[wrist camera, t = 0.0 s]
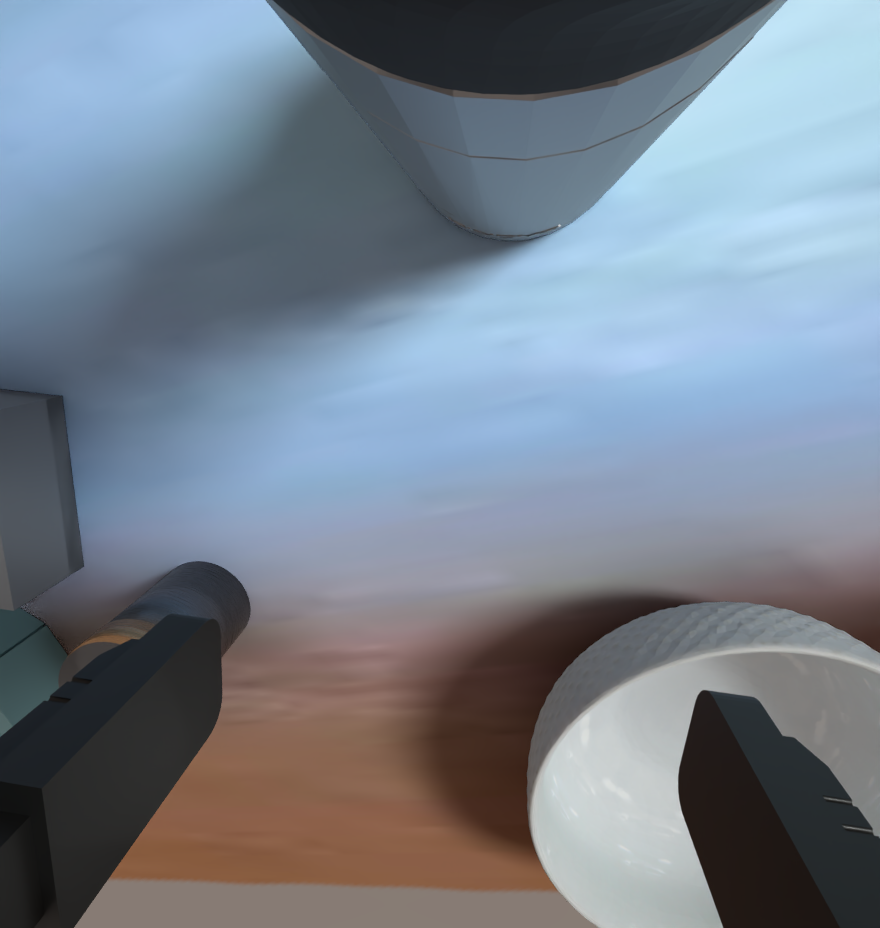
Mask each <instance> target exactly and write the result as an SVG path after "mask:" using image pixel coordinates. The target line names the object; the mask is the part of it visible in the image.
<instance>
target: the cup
mask: <svg viewBox="0 0 880 928" xmlns="http://www.w3.org/2000/svg"><path fill="white" fill-rule="evenodd" d="M43 625H44V623H43V622H41V621H40V620H38V619H37V618H35V617H34V616H32V615H30V614H29V613H27V612H26V611H24V610H22V609H21V608H18V609H16V610H15V611H11V610H5V609H0V737H1V736H2V735H3V734H4V733H6V732H7V731H8V730H9V729H10V728H12V727H13V726H14V725H15V724H16V723H18V722H19V721H20V720H21V719H22V718H24V717H25V716H26V715H27V714H28V713H30V712H31V711H32V710H33V709H34V708H36V707H37V706H38V705H39V704H40V703H42V702H43V701H48V700H49V698H50V695H51V694H53V693H54V692H55V691H56V690H57V689H59V684H58V678H59V672H60V668H61V666H62V664H63V662H64V661H65V659H66V658H67V657H68V655H67V653H66V652H65V651H64V649H63V648H62V646H61V645H60V644H59V642H58V641H57V639H56V638H55V637H54V635H53V634H52V632H51V631H50V630H49V628H48V627H47V625H46V626H43Z"/></svg>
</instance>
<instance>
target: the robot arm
mask: <svg viewBox="0 0 880 928" xmlns="http://www.w3.org/2000/svg"><path fill="white" fill-rule="evenodd" d="M266 1H267V3H268V4H269V5H270V6H271V8H272V9H273V10H274V11H275V13H276V14H277V15H278V16H279V17H280V19H281V20H282V21H283V22H284V24H285V25H286V26H287V27H288V28H289V30H290V31H291V32H292V33H293V35H294V36H295V37H296V38H297V40H298V41H299V42H300V43H301V44H302V46H303V47H304V48H305V49H306V51H307V52H308V53H309V54H310V56H311V57H312V58H313V59H314V60H315V62H316V63H317V64H318V65H319V67H320V68H321V69H322V70H323V71H324V72H325V73H326V74H327V75H328V77H329V78H330V79H331V80H332V82H333V83H334V84H335V85H336V87H337V88H338V89H339V90H340V92H341V93H342V94H343V95H344V96H345V98H346V99H347V100H348V101H349V103H350V104H351V105H352V106H353V108H354V109H355V110H356V111H357V113H358V114H359V115H360V116H361V117H362V119H363V120H364V121H365V122H366V124H367V125H368V126H369V127H370V129H371V130H372V131H373V132H374V134H375V135H376V136H377V137H378V138H379V140H380V141H381V142H382V143H383V145H384V146H385V147H386V148H387V150H388V151H389V152H390V153H391V155H392V156H393V157H394V158H395V160H396V161H397V162H398V163H399V164H400V166H401V167H402V168H403V169H404V171H405V172H406V173H407V174H408V176H409V177H410V178H411V179H412V181H413V182H414V183H415V185H416V186H417V187H418V188H419V189H420V191H421V192H422V193H423V194H424V195H425V196H426V198H427V199H428V200H429V201H430V202H431V203H432V204H433V206H434V207H435V208H436V209H437V210H438V211H439V213H441V214H442V215H443V216H445V217H446V218H447V219H449V220H450V221H451V222H453V223H454V224H455V225H457V226H458V227H460V228H462V229H464V230H467V231H469V232H471V233H473V234H476V235H478V236H480V237H485V238H491V239H496V240H501V241H512V240H528V239H532V238H536V237H540V236H543V235H547V234H551V233H553V232H555V231H556V230H558V229H560V228H562V227H564V226H566V225H568V224H570V223H572V222H574V221H575V220H576V219H577V218H579V217H580V216H581V215H582V214H584V213H585V212H586V211H587V210H589V209H590V208H591V207H593V206H594V205H595V204H596V202H597V201H598V200H599V199H600V198H601V197H602V196H603V195H604V194H605V193H606V192H607V191H608V190H609V189H610V188H611V187H612V186H613V185H614V184H615V183H616V182H617V181H618V180H619V179H620V178H621V177H622V176H623V175H624V174H625V172H626V171H627V170H628V169H629V168H630V167H631V166H632V165H633V164H634V163H635V162H636V161H637V160H638V159H639V158H640V157H641V156H642V155H643V153H644V152H645V151H646V150H647V149H648V148H649V147H650V146H651V145H652V144H653V143H654V142H655V141H656V140H657V139H658V138H659V137H660V136H661V134H662V133H663V132H664V131H665V130H666V129H667V128H668V127H669V126H670V125H671V124H672V123H673V122H674V121H675V120H676V119H677V118H678V117H679V115H680V114H681V113H682V112H683V111H684V110H685V109H686V108H687V107H688V106H689V105H690V104H691V103H692V102H693V101H694V100H695V99H696V98H697V96H698V95H699V94H700V93H701V92H702V91H703V90H704V89H705V88H706V87H707V86H708V85H709V84H710V83H711V82H712V81H713V80H714V79H715V77H716V76H717V75H718V74H719V73H720V72H721V71H722V70H723V69H724V68H725V67H726V66H727V65H728V64H729V63H730V62H731V61H732V60H733V58H734V57H735V56H736V55H737V54H738V53H739V52H740V51H741V50H742V49H743V48H744V47H745V46H746V45H747V44H748V43H749V42H750V41H751V39H752V38H753V37H754V36H755V34H756V33H757V32H758V31H759V30H760V29H761V28H762V27H763V26H764V25H765V23H766V22H767V21H768V20H769V19H770V18H771V17H772V16H773V15H774V14H775V13H776V12H777V11H778V10H779V9H780V8H781V7H782V5H783V4H784V3H785V2H786V1H787V0H266ZM221 703H222V667H221V632H220V626H219V623H218V622H217V620H215V619H210V618H203V617H196V616H189V615H182V614H175V613H172V614H169V615H167V616H166V617H164V618H163V619H162V620H161V621H160V622H158V623H157V624H156V625H155V626H154V627H153V628H152V629H151V630H149V631H148V632H147V633H146V634H145V635H144V636H143V637H141V638H140V639H139V640H138V639H131V640H128V641H126V642H124V643H122V644H120V645H118V646H116V647H114V648H112V649H110V650H108V651H106V652H104V653H102V654H100V655H98V656H97V657H96V658H95V659H93V660H92V661H91V662H90V663H89V664H87V665H86V666H85V667H84V668H83V669H81V670H80V671H79V672H78V673H77V674H75V675H74V676H73V678H72V681H71V682H68V681H67V682H66V683H65V684H63V685H62V686H61V687H60V688H59V689H57V690H56V691H55V692H54V693H53V694H51V695H50V698H49V700H48V701H43V702H42V703H40V704H39V705H38V706H37V707H36V708H34V709H33V710H32V711H31V712H30V713H28V714H27V715H26V716H25V717H24V718H22V719H21V720H20V721H19V722H18V723H16V724H15V725H14V726H13V727H12V728H10V729H9V730H8V731H7V732H6V733H4V734H3V735H2V736H1V737H0V928H74V927H75V925H76V924H77V922H78V921H79V920H80V918H81V917H82V915H83V914H84V913H85V911H86V910H87V908H88V907H89V905H90V904H91V903H92V901H93V900H94V898H95V897H96V896H97V894H98V893H99V891H100V890H101V889H102V887H103V886H104V884H105V883H106V881H107V880H108V879H109V877H110V876H111V874H112V873H113V872H114V870H115V869H116V867H117V866H118V864H119V863H120V862H121V860H122V859H123V857H124V856H125V855H126V853H127V852H128V850H129V849H130V847H131V846H132V845H133V843H134V842H135V840H136V839H137V838H138V836H139V835H140V833H141V832H142V831H143V829H144V828H145V826H146V825H147V823H148V822H149V821H150V819H151V818H152V816H153V815H154V814H155V812H156V811H157V809H158V808H159V806H160V805H161V804H162V802H163V801H164V799H165V798H166V797H167V795H168V794H169V792H170V791H171V790H172V788H173V787H174V785H175V784H176V782H177V781H178V780H179V778H180V777H181V775H182V774H183V773H184V771H185V770H186V768H187V767H188V765H189V764H190V763H191V761H192V760H193V758H194V757H195V756H196V754H197V753H198V751H199V750H200V748H201V747H202V746H203V744H204V743H205V741H206V740H207V739H208V737H209V736H210V734H211V732H212V730H213V728H214V726H215V724H216V721H217V719H218V716H219V712H220V708H221ZM678 794H679V801H680V806H681V811H682V814H683V817H684V820H685V823H686V825H687V828H688V831H689V834H690V836H691V839H692V842H693V845H694V848H695V850H696V853H697V856H698V859H699V862H700V864H701V867H702V870H703V873H704V876H705V878H706V881H707V884H708V887H709V889H710V892H711V895H712V898H713V901H714V903H715V906H716V909H717V912H718V915H719V917H720V920H721V923H722V926H723V928H880V838H879V836H874V834H873V828H872V827H871V825H870V824H869V822H868V821H867V820H866V818H865V817H864V816H863V814H862V813H861V811H860V810H859V809H858V807H856V806H853V804H852V799H851V797H850V796H849V795H848V793H847V792H846V791H845V789H844V788H843V786H842V785H841V784H840V782H839V781H838V779H837V778H836V777H835V775H834V774H833V773H832V771H831V770H830V768H829V767H828V766H827V765H826V764H825V763H823V762H822V761H821V760H820V759H819V758H818V757H816V756H815V755H814V754H813V753H812V752H811V751H809V750H808V749H807V748H806V747H805V746H804V745H802V744H801V743H800V742H799V741H798V740H797V739H795V738H794V737H788V736H783V735H782V734H781V732H780V731H779V729H778V728H777V726H776V725H775V723H774V722H773V720H772V719H771V717H770V716H769V714H768V713H767V711H766V710H765V708H764V707H763V705H762V704H761V703H760V701H759V700H758V699H756V698H755V697H751V696H744V695H737V694H730V693H723V692H716V691H709V690H702V691H701V692H700V693H699V694H698V696H697V698H696V702H695V705H694V709H693V713H692V717H691V722H690V726H689V730H688V734H687V738H686V742H685V746H684V750H683V754H682V758H681V762H680V767H679V773H678Z"/></svg>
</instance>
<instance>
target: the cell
mask: <svg viewBox="0 0 880 928" xmlns="http://www.w3.org/2000/svg"><path fill="white" fill-rule="evenodd" d="M172 613H175V614H182V615H189V616H196V617H203V618H210V619H215V620H217V622H218V623H219V626H220V632H221V658H222V656H223V655H224V654H225V653H226V651H227V650H228V649H229V648H230V646H231V645H232V644H233V643H234V641H235V640H236V639H237V638H238V636H239V635H240V634H241V632H242V631H243V630H244V629H245V627H246V625H247V624H248V621H249V617H250V602H249V598H248V595H247V593H246V591H245V589H244V587H243V586H242V584H241V583H240V582H239V581H238V579H237V578H236V577H235V576H233V575H232V574H231V573H230V572H228V571H227V570H225V569H224V568H222V567H220V566H218V565H215V564H212V563H208V562H200V561H196V562H189V563H185V564H182V565H180V566H178V567H177V568H176V569H174V570H173V571H172V572H170V573H169V574H168V575H167V576H166V577H164V578H163V579H162V580H161V581H159V582H158V583H157V584H156V585H155V586H153V587H152V588H151V589H150V590H148V591H147V592H146V593H145V594H144V595H142V596H141V597H140V598H139V599H137V600H136V601H135V602H134V603H132V604H131V605H130V606H129V607H128V608H126V609H125V610H124V611H123V612H121V613H120V614H119V615H118V616H117V617H115V618H114V619H113V620H112V621H110V622H109V623H108V624H106V625H104V626H103V627H101V628H100V629H99V630H98V631H96V632H95V633H94V634H93V635H91V636H90V637H89V638H88V639H86V640H85V641H84V642H83V643H82V644H80V645H79V646H78V647H77V648H75V649H74V650H73V651H72V652H71V653H70V654H69V655H68V657H67V658H66V659H65V661H64V662H63V664H62V666H61V668H60V672H59V678H58V684H59V688H60V687H61V686H62V685H63V684H65V683H66V682H67V681H68V682H71V681H72V678H73V676H74V675H75V674H77V673H78V672H79V671H80V670H81V669H83V668H84V667H85V666H86V665H87V664H89V663H90V662H91V661H92V660H93V659H95V658H96V657H97V656H98V655H100V654H102V653H104V652H106V651H108V650H110V649H112V648H114V647H116V646H118V645H120V644H122V643H124V642H126V641H128V640H131V639H138V640H139V639H140V638H141V637H143V636H144V635H145V634H146V633H147V632H148V631H149V630H151V629H152V628H153V627H154V626H155V625H156V624H157V623H158V622H160V621H161V620H162V619H163V618H164V617H166V616H167V615H169V614H172Z"/></svg>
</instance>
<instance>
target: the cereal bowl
mask: <svg viewBox="0 0 880 928" xmlns="http://www.w3.org/2000/svg"><path fill="white" fill-rule="evenodd" d="M702 690H709V691H716V692H723V693H730V694H737V695H744V696H751V697H755V698H756V699H758V700H759V701H760V703H761V704H762V705H763V707H764V708H765V710H766V711H767V713H768V714H769V716H770V717H771V719H772V720H773V722H774V723H775V725H776V726H777V728H778V729H779V731H780V732H781V734H782V735H783V736H788V737H794V738H795V739H797V740H798V741H799V742H800V743H801V744H802V745H804V746H805V747H806V748H807V749H808V750H809V751H811V752H812V753H813V754H814V755H815V756H816V757H818V758H819V759H820V760H821V761H822V762H823V763H825V764H826V765H827V766H828V767H829V768H830V770H831V771H832V773H833V774H834V775H835V777H836V778H837V779H838V781H839V782H840V784H841V785H842V786H843V788H844V789H845V791H846V792H847V793H848V795H849V796H850V797H851V799H852V804H853V806H856V807H858V809H859V810H860V811H861V813H862V814H863V816H864V817H865V818H866V820H867V821H868V822H869V824H870V825H871V827H872V828H873V834H874V836H879V838H880V653H879V652H877V651H875V650H873V649H871V648H870V647H869V646H868V645H866V644H865V643H863V642H862V641H859V640H857V639H855V638H853V637H852V636H850V635H849V634H848V633H846V632H845V631H842V630H839V629H836V628H835V627H833V626H831V625H829V624H828V623H826V622H823V621H818V620H816V619H814V618H813V617H811V616H808V615H802V614H799V613H796V612H794V611H792V610H787V609H782V608H776V607H773V606H770V605H757V604H752V603H746V602H739V603H737V602H727V601H726V602H711V603H709V602H703V603H699V604H697V603H695V604H689V605H680V606H678V607H676V608H667V609H665V610H658V611H657V612H655V613H650V614H649V615H647V616H642V617H639V618H638V619H634V620H632V621H631V622H629V623H628V624H624V625H622V626H621V627H619V628H616V629H615V630H614V631H612V632H611V633H609V634H606V635H604V636H603V637H602V638H601V639H599V640H598V641H597V642H595V643H594V644H593V645H591V646H589V647H588V649H587V650H586V651H584V652H583V653H581V654H580V655H579V656H578V657H577V658H576V659H575V660H574V662H573V663H572V664H570V665H569V666H568V667H567V668H566V670H565V671H564V672H563V674H562V676H561V677H560V678H558V681H557V682H556V683H555V684H554V687H553V689H552V691H551V692H550V693H549V695H548V696H547V698H546V701H545V704H544V705H543V707H542V709H541V710H540V713H539V717H538V720H537V722H536V724H535V730H534V734H533V737H532V739H531V748H530V752H529V757H528V770H527V781H528V784H527V798H528V802H527V811H528V819H529V829H530V833H531V838H532V842H533V845H534V848H535V851H536V854H537V856H538V858H539V860H540V862H541V865H542V867H543V869H544V871H545V873H546V874H547V876H548V877H549V879H550V880H551V882H552V883H553V885H554V886H555V887H556V889H557V890H558V891H559V892H560V894H561V895H562V896H563V897H564V898H565V899H566V900H567V901H568V902H569V903H570V904H571V905H572V907H573V908H574V909H576V911H578V912H579V913H580V914H581V915H582V916H583V917H585V918H586V919H587V920H588V921H590V922H591V923H593V924H594V925H595V926H597V927H598V928H723V926H722V923H721V920H720V917H719V915H718V912H717V909H716V906H715V903H714V901H713V898H712V895H711V892H710V889H709V887H708V884H707V881H706V878H705V876H704V873H703V870H702V867H701V864H700V862H699V859H698V856H697V853H696V850H695V848H694V845H693V842H692V839H691V836H690V834H689V831H688V828H687V825H686V823H685V820H684V817H683V814H682V811H681V806H680V801H679V794H678V773H679V767H680V762H681V758H682V754H683V750H684V746H685V742H686V738H687V734H688V730H689V726H690V722H691V717H692V713H693V709H694V705H695V702H696V698H697V696H698V694H699V693H700V692H701V691H702Z"/></svg>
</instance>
